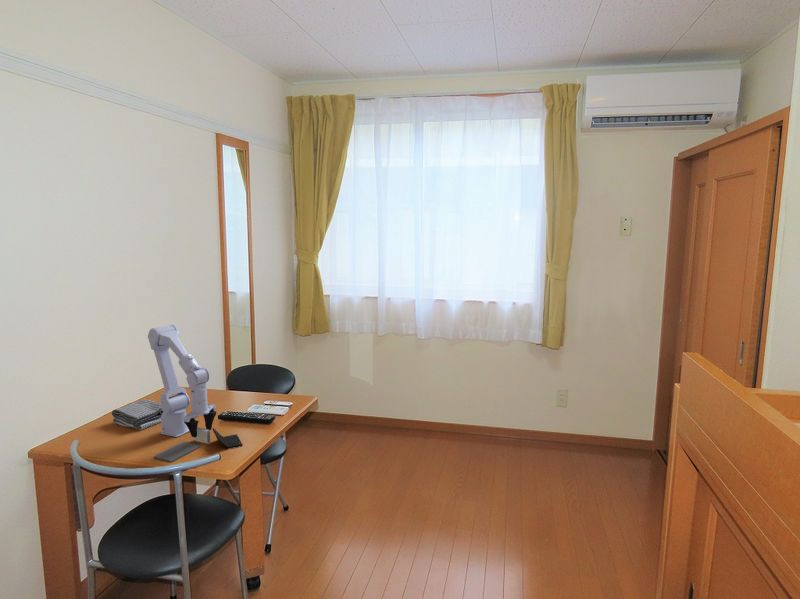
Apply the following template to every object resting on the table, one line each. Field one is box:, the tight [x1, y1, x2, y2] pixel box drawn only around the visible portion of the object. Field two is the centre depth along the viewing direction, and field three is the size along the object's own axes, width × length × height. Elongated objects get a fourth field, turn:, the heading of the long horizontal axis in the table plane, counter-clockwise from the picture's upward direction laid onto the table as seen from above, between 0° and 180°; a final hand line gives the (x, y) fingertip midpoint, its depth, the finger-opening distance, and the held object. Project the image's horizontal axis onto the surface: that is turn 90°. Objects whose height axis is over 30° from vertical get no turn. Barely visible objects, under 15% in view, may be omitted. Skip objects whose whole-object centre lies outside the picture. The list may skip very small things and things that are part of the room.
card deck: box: [192, 426, 211, 444], centre depth 198 cm, size 7×2×5 cm, turn 67°
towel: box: [111, 398, 163, 431], centre depth 218 cm, size 15×18×8 cm
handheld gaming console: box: [211, 427, 243, 450], centre depth 196 cm, size 12×7×10 cm
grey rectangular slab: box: [152, 441, 202, 463], centre depth 189 cm, size 9×14×1 cm, turn 157°
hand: (201, 433), depth 198 cm, fingers open, 7 cm apart
